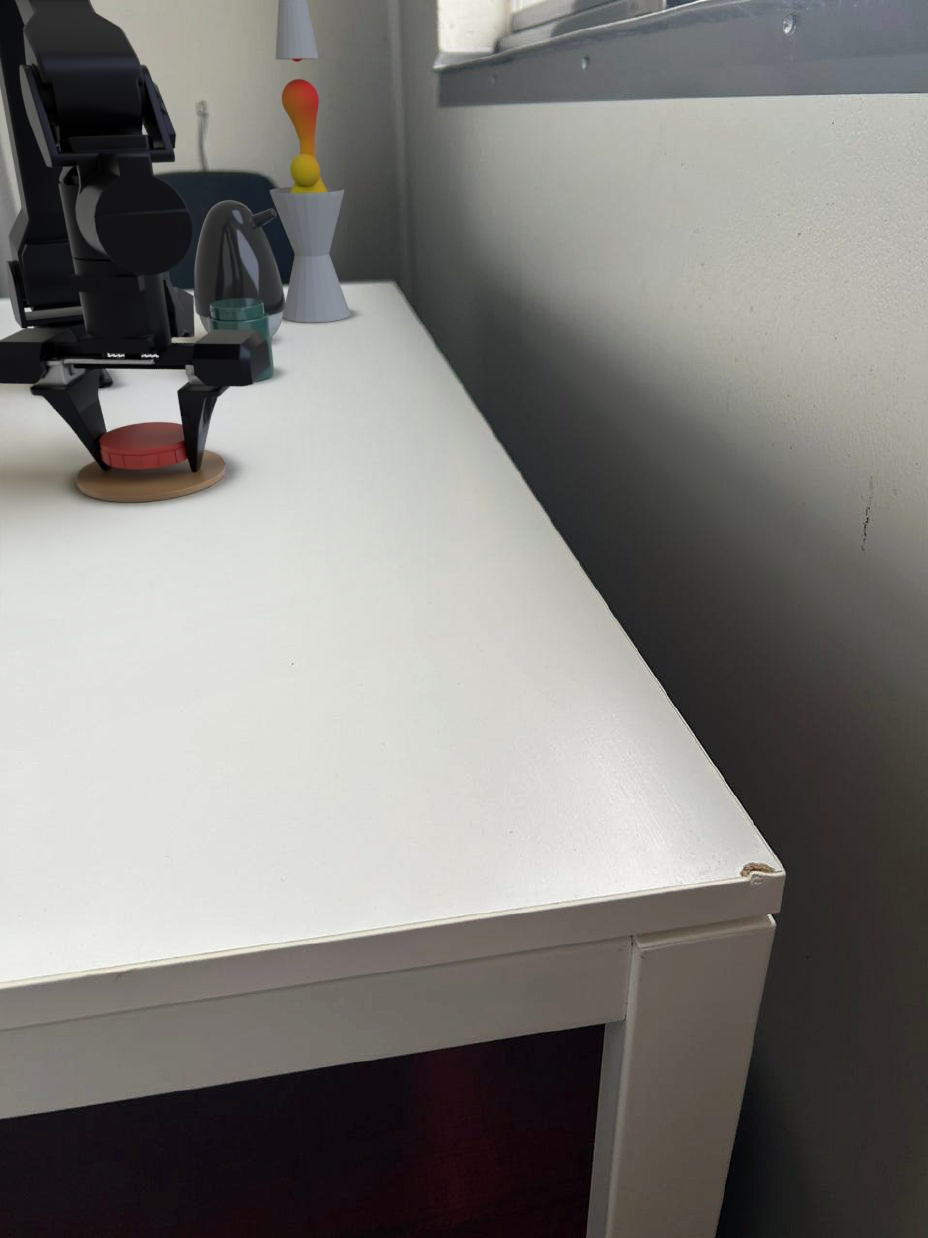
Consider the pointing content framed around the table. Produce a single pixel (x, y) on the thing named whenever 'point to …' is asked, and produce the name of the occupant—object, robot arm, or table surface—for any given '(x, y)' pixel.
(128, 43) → the robot arm
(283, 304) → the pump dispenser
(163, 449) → the jar lid
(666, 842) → the table surface
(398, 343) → the table surface
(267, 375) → the jar
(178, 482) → the coaster
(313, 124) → the lava lamp
